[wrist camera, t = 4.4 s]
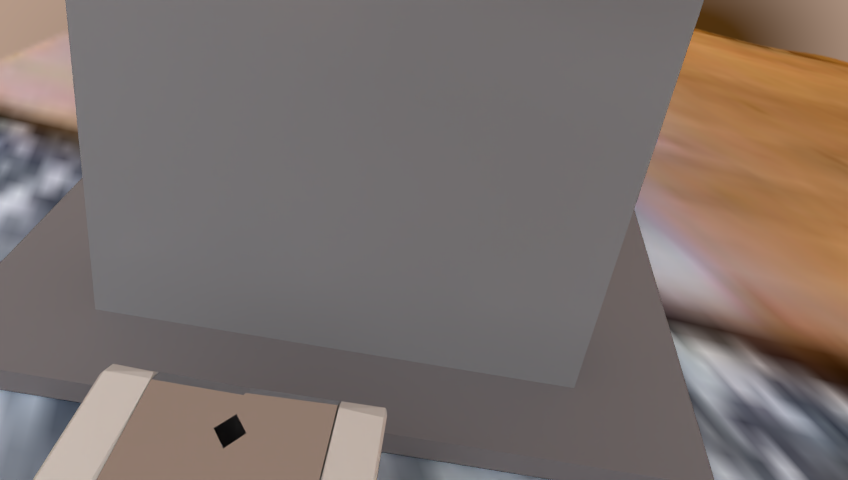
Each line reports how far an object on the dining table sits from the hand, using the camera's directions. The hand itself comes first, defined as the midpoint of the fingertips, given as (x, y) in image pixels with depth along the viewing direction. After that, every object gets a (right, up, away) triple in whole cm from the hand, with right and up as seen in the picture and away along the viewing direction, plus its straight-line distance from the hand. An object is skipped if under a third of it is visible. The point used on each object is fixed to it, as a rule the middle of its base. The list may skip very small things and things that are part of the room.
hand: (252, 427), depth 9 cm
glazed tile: (0, 0, +12) cm, 12 cm away
